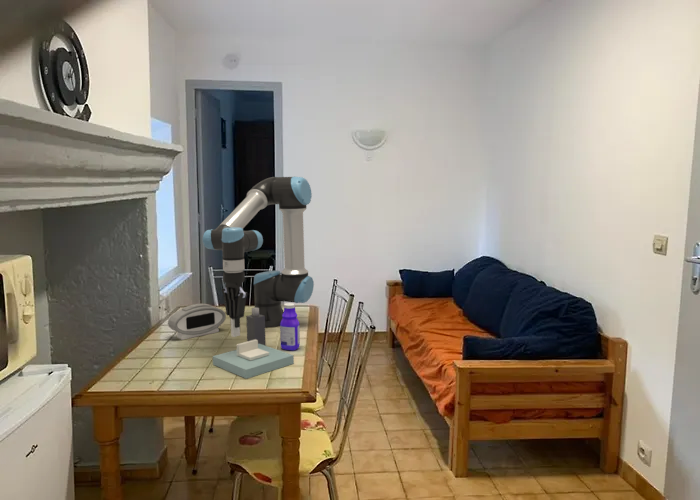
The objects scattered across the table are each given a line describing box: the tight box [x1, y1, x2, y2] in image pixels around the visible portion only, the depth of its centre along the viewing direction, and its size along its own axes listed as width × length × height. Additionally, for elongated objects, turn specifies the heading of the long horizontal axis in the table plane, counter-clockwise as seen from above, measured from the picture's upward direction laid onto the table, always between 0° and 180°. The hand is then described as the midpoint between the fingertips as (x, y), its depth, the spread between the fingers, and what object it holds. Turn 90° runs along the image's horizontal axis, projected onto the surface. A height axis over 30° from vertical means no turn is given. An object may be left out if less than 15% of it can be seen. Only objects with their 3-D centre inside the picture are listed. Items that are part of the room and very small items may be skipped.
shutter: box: [235, 339, 269, 361], centre depth 194 cm, size 8×8×4 cm
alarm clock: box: [167, 303, 227, 341], centre depth 230 cm, size 23×6×13 cm, turn 132°
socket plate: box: [212, 344, 295, 380], centre depth 194 cm, size 20×20×3 cm
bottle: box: [279, 302, 301, 351], centre depth 210 cm, size 7×6×17 cm
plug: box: [245, 307, 267, 346], centre depth 214 cm, size 5×5×15 cm
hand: (235, 335), depth 200 cm, fingers closed
